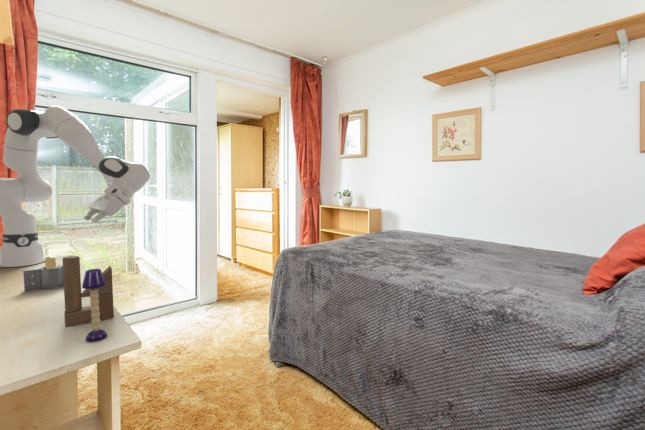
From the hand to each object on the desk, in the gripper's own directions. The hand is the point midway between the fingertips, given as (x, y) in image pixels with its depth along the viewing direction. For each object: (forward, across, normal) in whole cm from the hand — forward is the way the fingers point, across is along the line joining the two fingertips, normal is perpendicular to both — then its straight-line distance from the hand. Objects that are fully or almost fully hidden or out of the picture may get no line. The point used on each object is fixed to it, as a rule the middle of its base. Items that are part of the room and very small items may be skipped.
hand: (89, 220), depth 131 cm
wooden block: (+25, +49, +6) cm, 55 cm away
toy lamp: (+26, +62, +5) cm, 67 cm away
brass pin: (+25, +4, +7) cm, 26 cm away
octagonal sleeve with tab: (+25, +4, +7) cm, 26 cm away
